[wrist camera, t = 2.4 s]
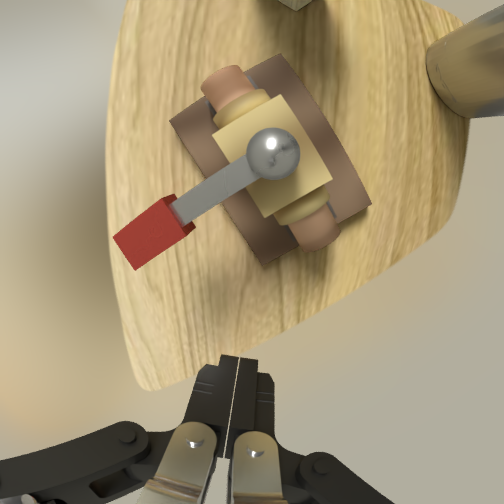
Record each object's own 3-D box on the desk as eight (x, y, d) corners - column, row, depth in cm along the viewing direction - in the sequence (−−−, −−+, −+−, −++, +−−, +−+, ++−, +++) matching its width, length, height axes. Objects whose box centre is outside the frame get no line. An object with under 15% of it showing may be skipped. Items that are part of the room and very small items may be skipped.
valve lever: (280, 123, 14) (282, 117, 12) (305, 163, 14) (310, 163, 13) (127, 227, 16) (111, 235, 14) (149, 260, 17) (135, 272, 15)
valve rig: (174, 122, 22) (132, 108, 14) (279, 59, 19) (283, 16, 12) (262, 259, 26) (258, 303, 18) (366, 201, 23) (406, 221, 15)
